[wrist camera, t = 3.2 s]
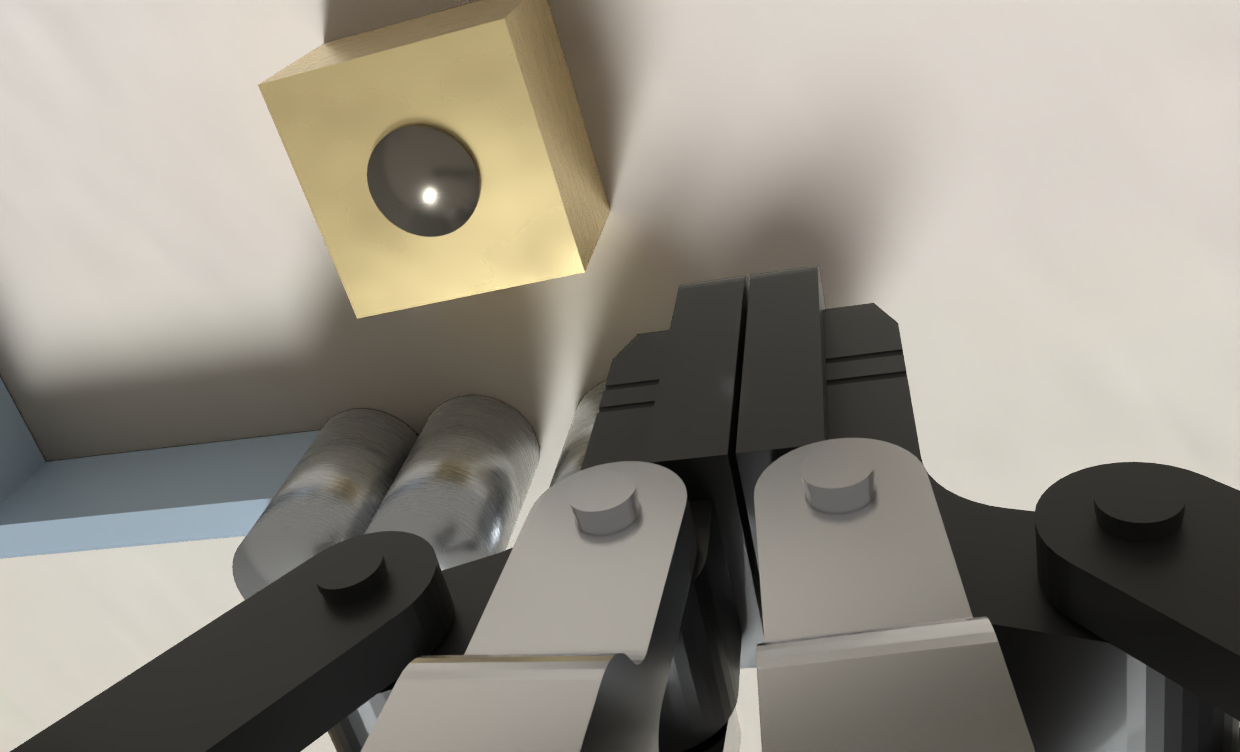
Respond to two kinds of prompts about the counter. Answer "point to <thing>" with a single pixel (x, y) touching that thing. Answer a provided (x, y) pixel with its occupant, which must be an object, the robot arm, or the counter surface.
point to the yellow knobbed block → (443, 155)
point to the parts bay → (134, 491)
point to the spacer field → (408, 484)
